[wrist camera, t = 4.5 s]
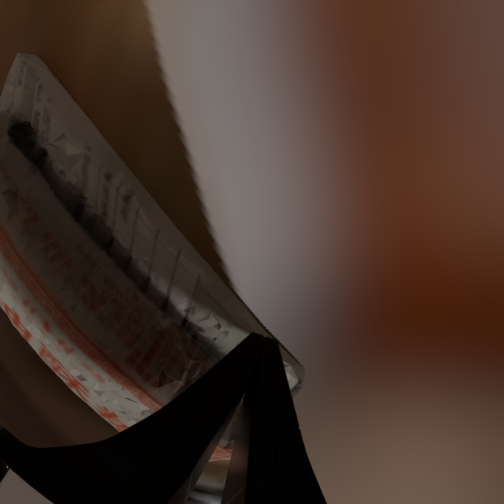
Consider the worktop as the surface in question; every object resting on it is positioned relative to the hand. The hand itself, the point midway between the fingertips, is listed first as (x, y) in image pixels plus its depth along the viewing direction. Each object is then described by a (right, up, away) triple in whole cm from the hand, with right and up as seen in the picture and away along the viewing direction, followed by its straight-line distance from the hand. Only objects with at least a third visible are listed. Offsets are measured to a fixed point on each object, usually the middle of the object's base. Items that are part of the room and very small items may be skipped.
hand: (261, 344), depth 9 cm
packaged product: (-7, +2, +3) cm, 8 cm away
